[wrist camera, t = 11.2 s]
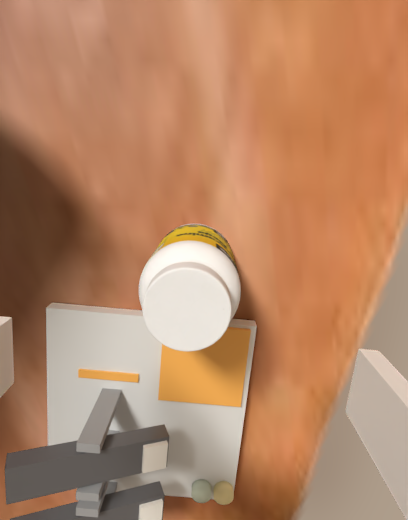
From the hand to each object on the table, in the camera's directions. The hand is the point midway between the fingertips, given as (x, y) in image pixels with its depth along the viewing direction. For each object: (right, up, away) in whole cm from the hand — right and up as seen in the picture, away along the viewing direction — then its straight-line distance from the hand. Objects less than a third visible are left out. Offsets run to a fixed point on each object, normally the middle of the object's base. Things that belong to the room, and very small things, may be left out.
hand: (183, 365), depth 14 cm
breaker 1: (-7, -11, +13) cm, 18 cm away
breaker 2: (-8, -16, +14) cm, 22 cm away
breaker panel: (-4, -9, +19) cm, 21 cm away
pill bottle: (0, +4, +16) cm, 16 cm away
